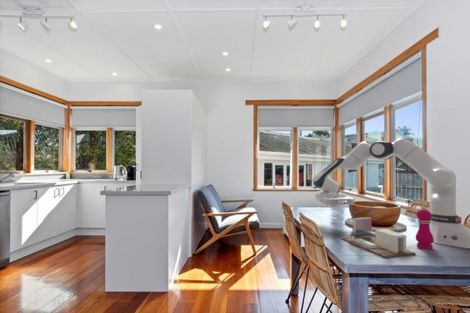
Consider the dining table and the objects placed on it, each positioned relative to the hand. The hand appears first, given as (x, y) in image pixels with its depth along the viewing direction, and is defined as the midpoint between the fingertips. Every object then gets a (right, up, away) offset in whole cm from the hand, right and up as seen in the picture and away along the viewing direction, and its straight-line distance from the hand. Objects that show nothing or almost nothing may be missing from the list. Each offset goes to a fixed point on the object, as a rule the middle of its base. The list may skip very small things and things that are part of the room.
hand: (345, 202), depth 159 cm
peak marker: (-3, -14, -21) cm, 26 cm away
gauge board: (+4, -17, -27) cm, 32 cm away
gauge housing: (+8, -16, -33) cm, 37 cm away
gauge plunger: (+3, -16, -24) cm, 29 cm away
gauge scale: (-2, -16, -26) cm, 30 cm away
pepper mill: (+27, -17, -29) cm, 43 cm away
